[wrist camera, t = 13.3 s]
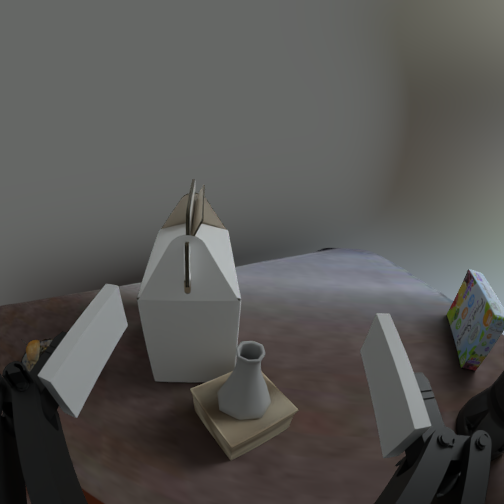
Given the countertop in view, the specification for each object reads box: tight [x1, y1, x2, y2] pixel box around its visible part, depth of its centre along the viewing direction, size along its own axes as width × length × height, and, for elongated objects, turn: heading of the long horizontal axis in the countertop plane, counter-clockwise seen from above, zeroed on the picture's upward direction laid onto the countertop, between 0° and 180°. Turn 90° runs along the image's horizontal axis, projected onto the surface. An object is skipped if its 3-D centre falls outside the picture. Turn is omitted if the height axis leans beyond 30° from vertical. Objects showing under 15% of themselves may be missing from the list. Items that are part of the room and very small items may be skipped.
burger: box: [21, 339, 53, 372], centre depth 36 cm, size 12×12×8 cm
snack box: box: [447, 269, 504, 371], centre depth 49 cm, size 21×6×15 cm, turn 159°
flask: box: [217, 341, 271, 420], centre depth 32 cm, size 7×7×10 cm
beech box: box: [190, 371, 298, 460], centre depth 35 cm, size 10×10×6 cm
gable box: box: [137, 179, 241, 382], centre depth 45 cm, size 22×13×28 cm, turn 9°
